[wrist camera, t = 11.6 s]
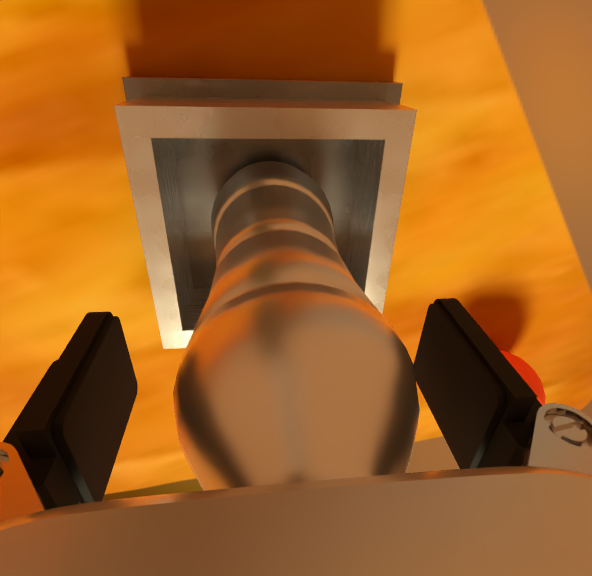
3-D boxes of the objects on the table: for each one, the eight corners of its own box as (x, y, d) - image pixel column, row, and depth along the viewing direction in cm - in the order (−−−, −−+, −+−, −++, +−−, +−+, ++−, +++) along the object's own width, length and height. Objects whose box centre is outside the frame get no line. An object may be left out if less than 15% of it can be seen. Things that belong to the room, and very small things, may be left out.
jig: (130, 76, 20) (87, 82, 14) (393, 82, 21) (438, 89, 16) (170, 302, 27) (151, 360, 22) (364, 296, 28) (389, 348, 23)
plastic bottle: (301, 132, 20) (561, 505, 3) (339, 239, 24) (559, 686, 7) (193, 178, 21) (-45, 684, 4) (245, 275, 25) (234, 766, 8)
